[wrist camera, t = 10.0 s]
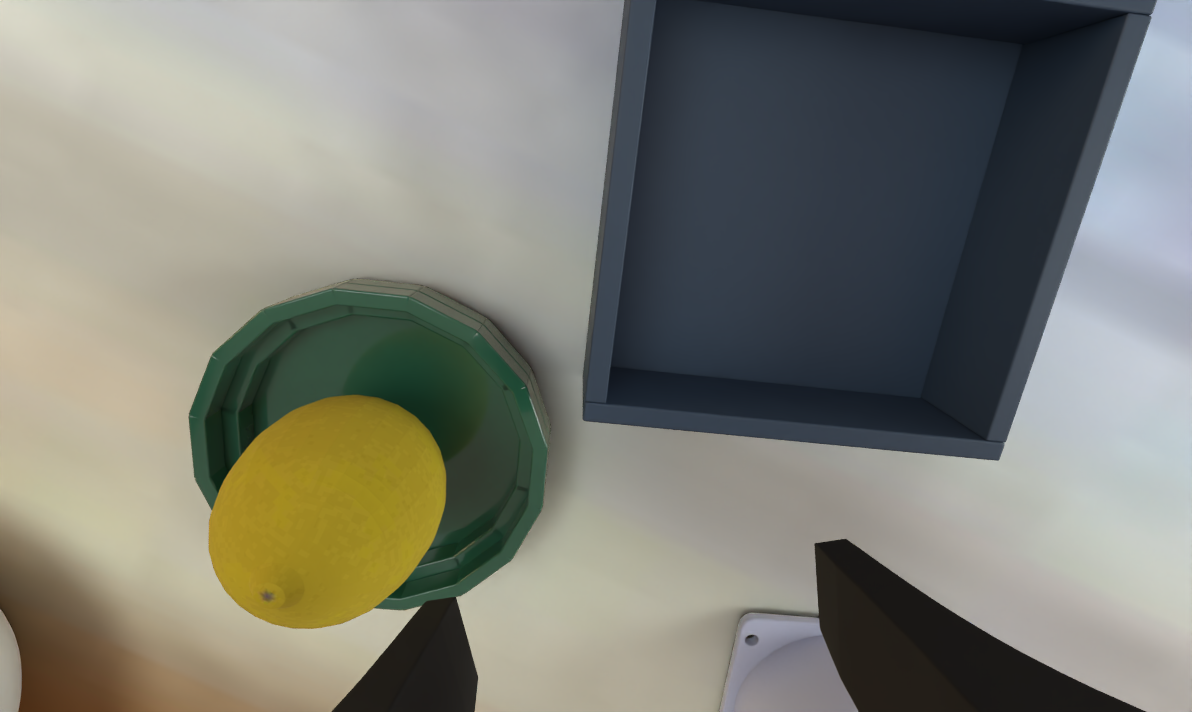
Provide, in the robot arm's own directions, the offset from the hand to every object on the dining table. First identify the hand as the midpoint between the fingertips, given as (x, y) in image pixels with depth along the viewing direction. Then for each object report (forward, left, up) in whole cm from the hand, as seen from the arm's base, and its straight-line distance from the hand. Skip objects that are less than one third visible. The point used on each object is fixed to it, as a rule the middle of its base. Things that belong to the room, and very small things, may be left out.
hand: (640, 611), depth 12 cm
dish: (-1, +8, -9) cm, 12 cm away
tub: (+8, -5, -9) cm, 13 cm away
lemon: (-1, +8, -9) cm, 12 cm away
